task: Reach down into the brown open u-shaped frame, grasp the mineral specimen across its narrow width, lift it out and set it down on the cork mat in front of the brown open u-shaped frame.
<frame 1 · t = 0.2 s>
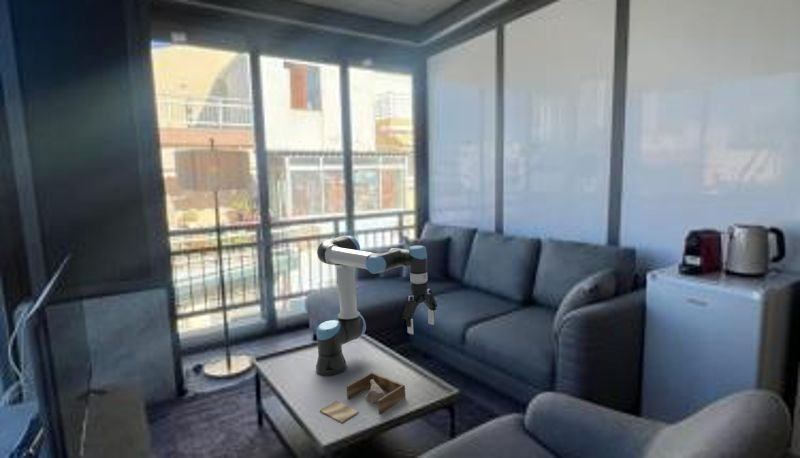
hand: (421, 328, 194), 28 cm above the table, fingers open, 13 cm apart
brown open u-shaped frame: (375, 398, 190), on the table
mat: (339, 412, 181), on the table
mineral specimen: (376, 399, 190), on the table
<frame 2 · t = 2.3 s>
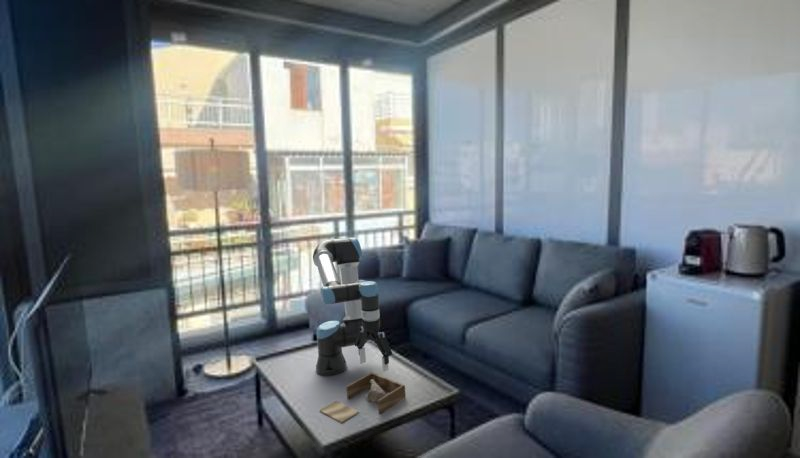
hand: (374, 366, 188), 15 cm above the table, fingers open, 13 cm apart
nothing on the table moved.
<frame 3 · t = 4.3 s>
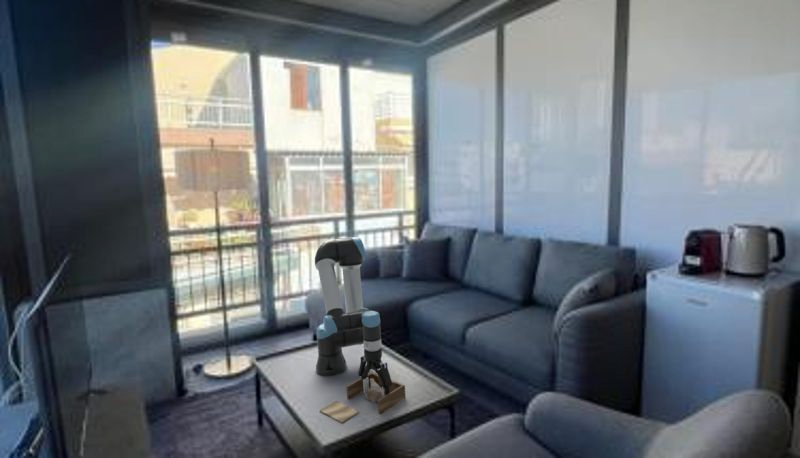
hand: (375, 396, 190), 1 cm above the table, fingers closed on mineral specimen, 11 cm apart
mineral specimen: (375, 398, 191), on the table, touching gripper
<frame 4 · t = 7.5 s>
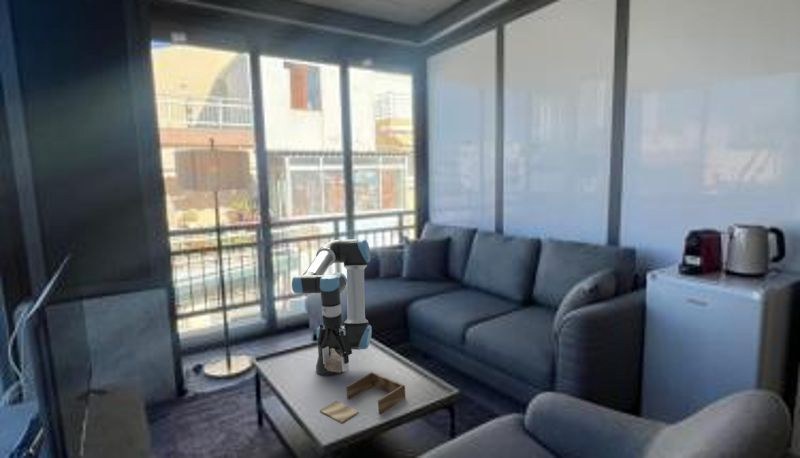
hand: (335, 366, 178), 20 cm above the table, fingers closed on mineral specimen, 11 cm apart
mineral specimen: (335, 368, 179), point 19 cm above the table, touching gripper
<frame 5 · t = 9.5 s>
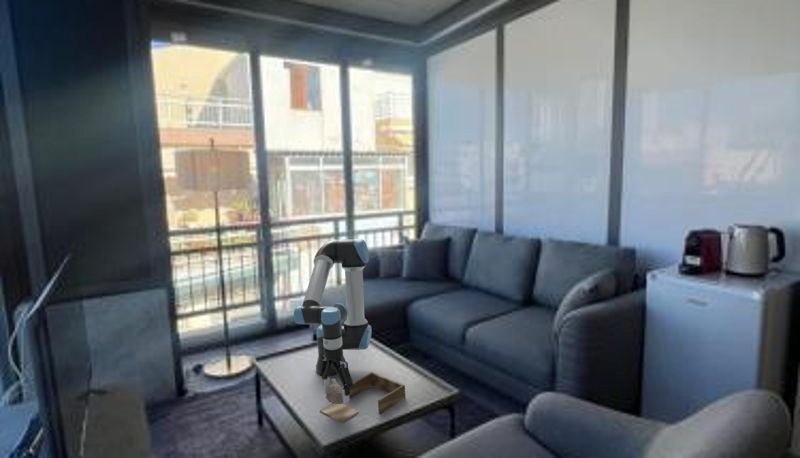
hand: (336, 397, 180), 7 cm above the table, fingers closed on mineral specimen, 11 cm apart
mineral specimen: (336, 399, 181), point 5 cm above the table, touching gripper
when the fingers open (4 cm above the table, at t = 11.0 s): mineral specimen drops 3 cm, resting on mat.
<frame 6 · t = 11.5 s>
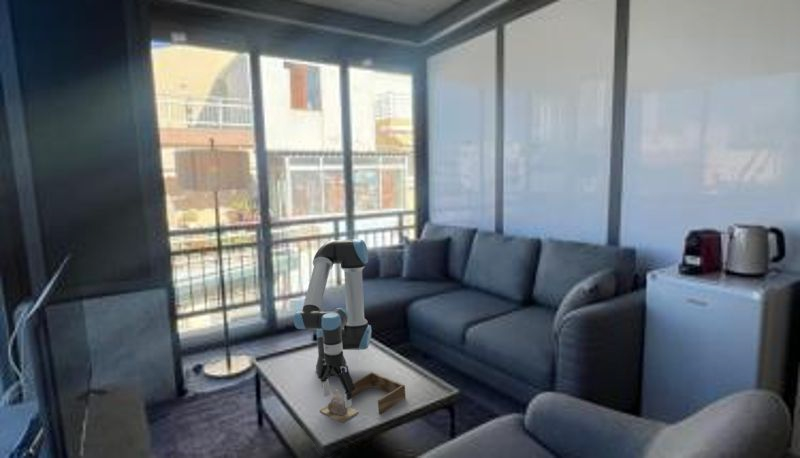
hand: (337, 400, 180), 5 cm above the table, fingers open, 13 cm apart
mineral specimen: (338, 410, 182), resting on mat
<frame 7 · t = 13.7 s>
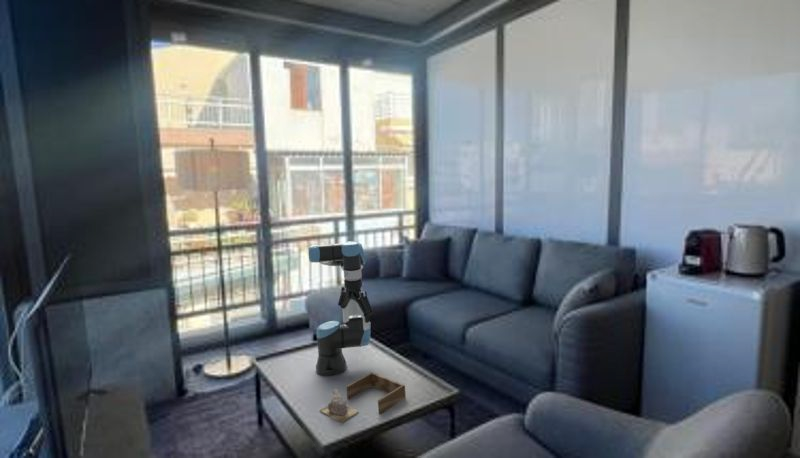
hand: (356, 325, 192), 31 cm above the table, fingers open, 13 cm apart
nothing on the table moved.
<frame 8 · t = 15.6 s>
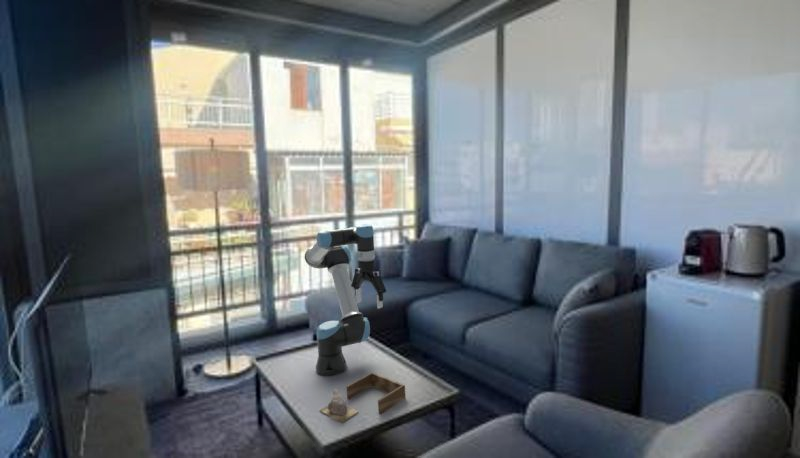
hand: (369, 305, 201), 37 cm above the table, fingers open, 13 cm apart
nothing on the table moved.
at the end: mineral specimen inside the target area (0.8 cm from its centre), resting on mat; the gripper is holding nothing; mineral specimen moved 17.3 cm from its start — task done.
